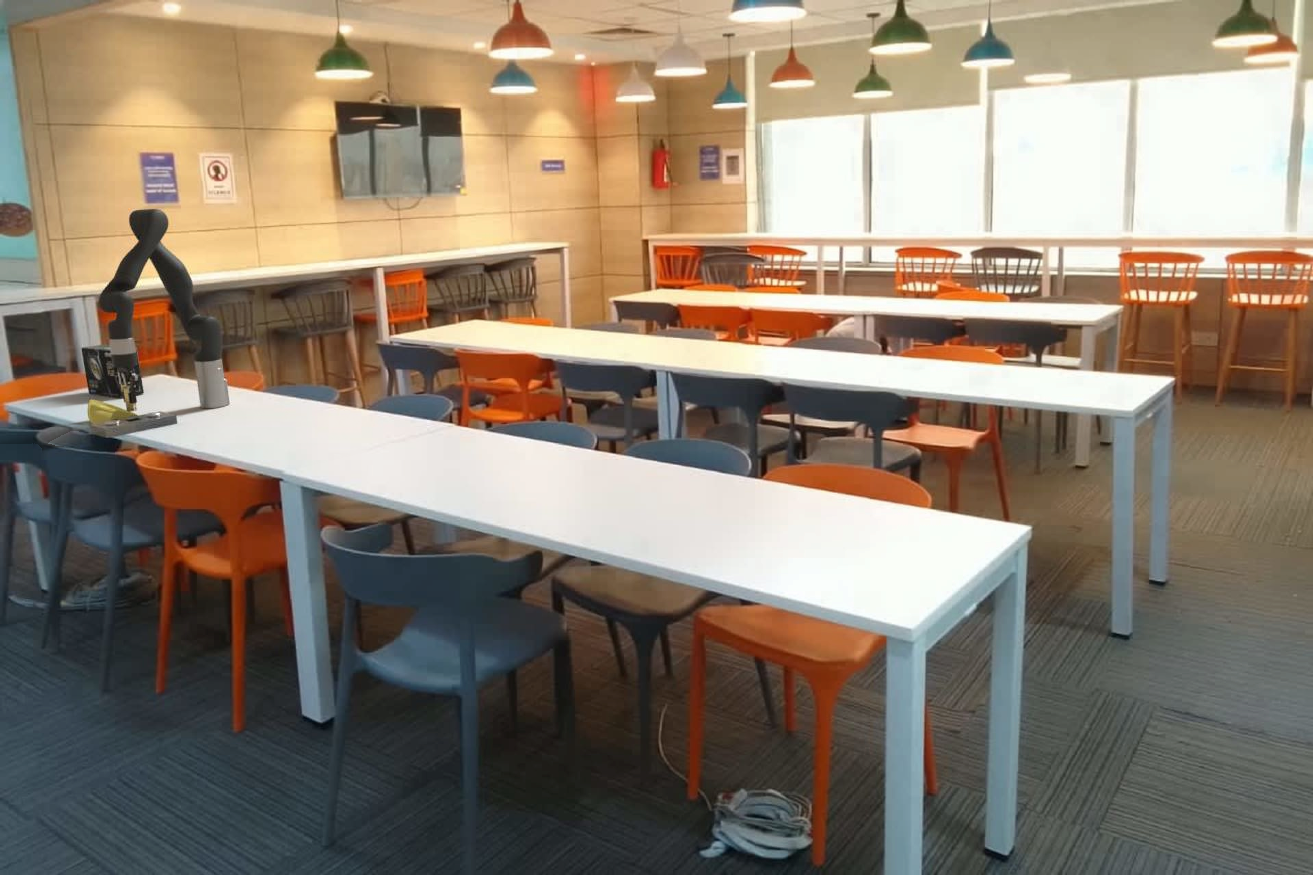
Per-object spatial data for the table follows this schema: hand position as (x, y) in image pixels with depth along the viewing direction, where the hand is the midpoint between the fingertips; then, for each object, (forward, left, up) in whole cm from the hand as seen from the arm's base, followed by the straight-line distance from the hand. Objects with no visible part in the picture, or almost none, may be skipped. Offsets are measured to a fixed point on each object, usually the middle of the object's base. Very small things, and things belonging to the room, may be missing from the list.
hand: (130, 402), depth 353 cm
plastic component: (-1, -18, -9) cm, 20 cm away
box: (-27, -69, -9) cm, 75 cm away
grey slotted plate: (0, 0, -9) cm, 9 cm away
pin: (0, 0, -3) cm, 3 cm away
